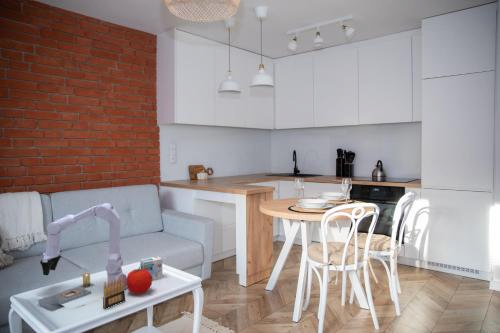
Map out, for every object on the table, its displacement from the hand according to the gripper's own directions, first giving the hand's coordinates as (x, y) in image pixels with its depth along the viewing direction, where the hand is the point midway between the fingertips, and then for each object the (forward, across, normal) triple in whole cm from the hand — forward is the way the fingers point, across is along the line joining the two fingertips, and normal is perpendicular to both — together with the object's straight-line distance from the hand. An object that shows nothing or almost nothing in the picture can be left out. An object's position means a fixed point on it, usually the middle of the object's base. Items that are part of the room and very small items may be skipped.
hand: (49, 272), depth 183 cm
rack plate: (+8, +11, +13) cm, 19 cm away
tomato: (+3, +6, +46) cm, 47 cm away
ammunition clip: (+5, +20, +38) cm, 43 cm away
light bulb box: (+3, -14, +49) cm, 51 cm away
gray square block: (+8, -4, +18) cm, 20 cm away
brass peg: (+6, -4, +18) cm, 19 cm away
